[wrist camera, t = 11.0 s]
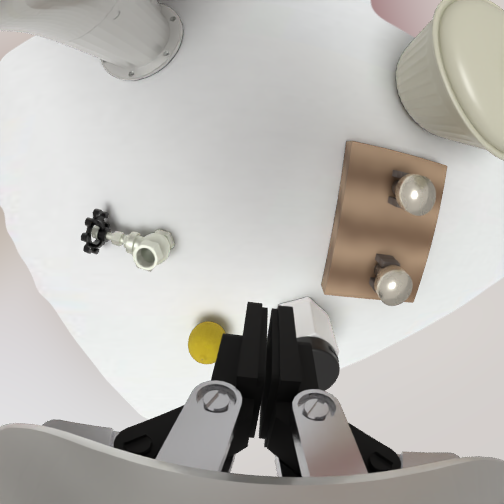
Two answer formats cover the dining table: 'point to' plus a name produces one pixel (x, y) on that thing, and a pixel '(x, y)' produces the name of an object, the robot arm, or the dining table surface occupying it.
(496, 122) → the canister
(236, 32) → the dining table surface
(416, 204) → the knob
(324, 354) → the jar
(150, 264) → the valve
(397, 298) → the knob
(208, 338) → the lemon
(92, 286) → the dining table surface
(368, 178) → the mount board
